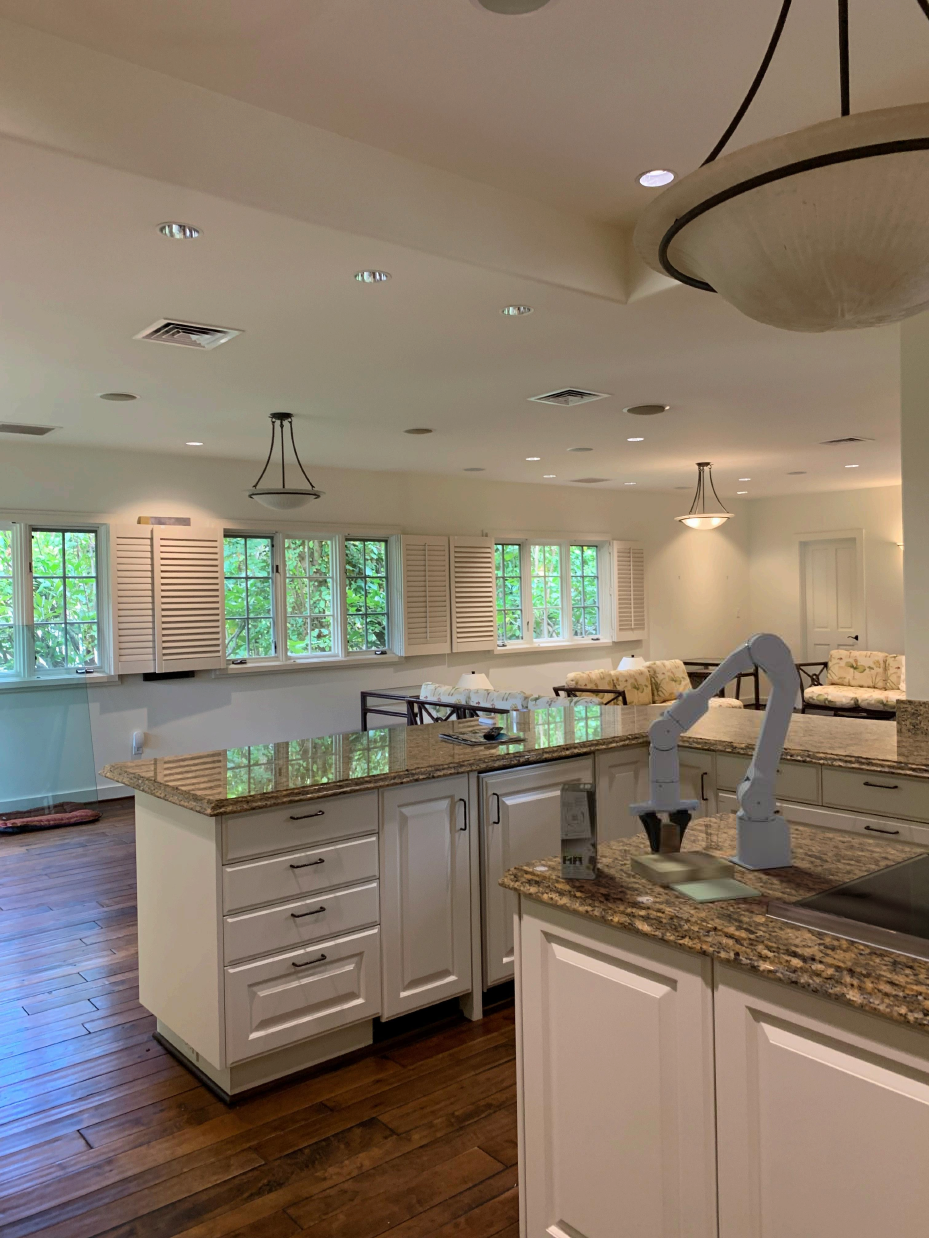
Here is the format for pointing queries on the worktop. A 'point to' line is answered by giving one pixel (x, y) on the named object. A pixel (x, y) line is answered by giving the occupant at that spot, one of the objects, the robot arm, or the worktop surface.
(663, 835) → the walnut block
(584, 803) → the coffee box
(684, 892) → the green mat
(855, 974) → the worktop surface
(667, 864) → the maple board
